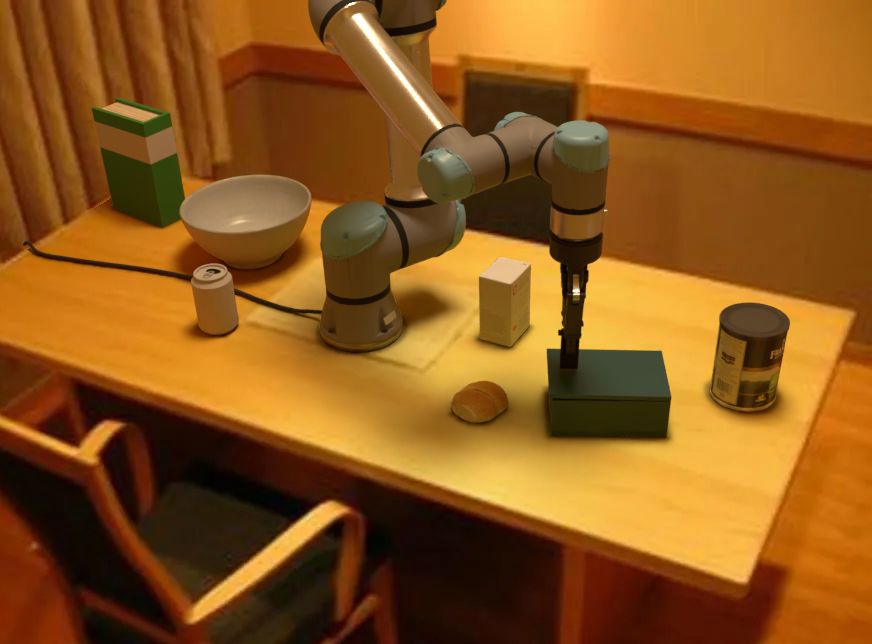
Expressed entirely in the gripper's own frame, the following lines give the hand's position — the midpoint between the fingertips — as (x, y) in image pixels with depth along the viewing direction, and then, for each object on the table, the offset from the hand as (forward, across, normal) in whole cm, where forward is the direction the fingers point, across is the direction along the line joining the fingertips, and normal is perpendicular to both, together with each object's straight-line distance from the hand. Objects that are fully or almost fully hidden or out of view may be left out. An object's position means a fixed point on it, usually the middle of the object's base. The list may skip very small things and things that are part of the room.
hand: (568, 365), depth 168 cm
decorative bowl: (+10, +53, +62) cm, 82 cm away
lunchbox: (+9, 0, -6) cm, 11 cm away
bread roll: (+9, 0, +14) cm, 17 cm away
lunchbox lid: (+2, 0, -6) cm, 6 cm away
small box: (+9, +23, +10) cm, 27 cm away
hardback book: (+10, +74, +90) cm, 117 cm away
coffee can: (+9, +5, -28) cm, 30 cm away
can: (+9, +25, +63) cm, 68 cm away
